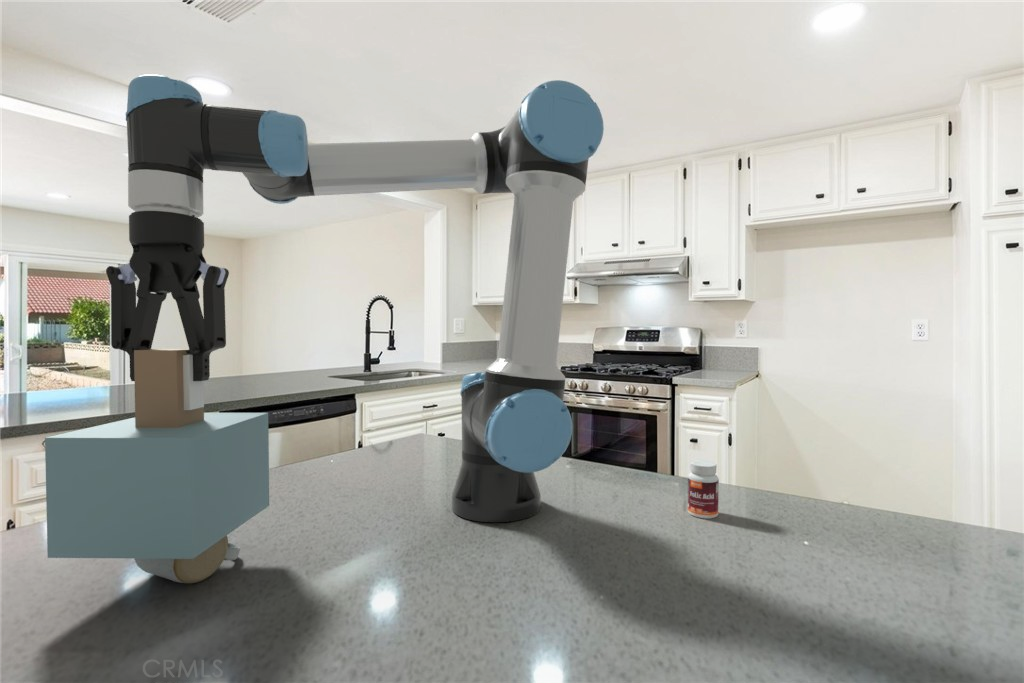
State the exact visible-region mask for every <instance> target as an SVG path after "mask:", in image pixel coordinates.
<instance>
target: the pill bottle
mask: <svg viewBox="0 0 1024 683" xmlns="http://www.w3.org/2000/svg"><path fill="white" fill-rule="evenodd" d="M689 469H690V473H688V476H687V513H688V514H689V515H691V516H692V517H695V518H698V519H699V518H700V519H705V520H706V519H707V520H708V519H709V520H710V519H715V518H716V517H718V516H719V490H720V489H719V488H720V487H719V482H720V479H719V477H718V475H717V464H716V463H715V462H714V461H709V460H701V459H700V460H699V459H695V460H691V461H690V466H689Z"/></svg>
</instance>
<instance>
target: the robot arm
mask: <svg viewBox="0 0 1024 683" xmlns="http://www.w3.org/2000/svg"><path fill="white" fill-rule="evenodd" d="M127 88H128V90H127V105H126V112H125V121H126V136H127V158H128V161H127V162H128V167H127V172H128V173H127V187H128V188H127V194H128V195H127V196H128V198H127V205H128V207H129V208H130V209H131V210H133V212H131V213H130V214H129V215H128V236H129V237H128V241H129V243H130V245H131V247H132V255H131V256H130V258H129V262H128V263H126V264H123V265H120V266H112V265H109V266H107V268H106V269H105V274H106V276H107V278H108V281H109V285H110V325H111V326H110V334H111V336H110V340H111V341H110V342H111V343H110V344H111V348H113V349H114V350H121V351H124V352H125V353H126V354H128V356H129V357H128V358H129V378H130V380H131V382H135V379H134V350H149V349H152V345H153V342H154V337H155V334H156V330H157V327H158V326H157V325H158V321H159V317H160V313H161V312H160V311H161V309H162V305H163V302H164V301H165V300H166V299H167V296H168V294H171V297H172V298H173V300H175V302H176V305H177V311H178V313H179V317H180V320H181V324H182V327H183V331H184V335H185V339H186V343H187V347H188V349H189V350H188V351H186V353H187V354H189V355H183V388H184V410H193V409H197V408H201V407H204V408H205V390H204V389H205V387H204V381H205V382H206V381H209V379H210V362H211V361H210V356H211V353H213V352H214V351H218V350H219V349H224V348H225V347H226V346H227V332H226V330H227V326H226V299H225V298H226V297H225V293H226V292H225V291H226V289H225V287H226V284H227V282H228V278H229V275H230V271H229V270H228V269H227V268H225V267H220V266H217V265H211V264H208V263H207V260H206V259H205V257H204V254H203V250H204V248H205V222H204V221H203V220H202V219H201V218H200V217H202V216H203V215H204V170H211V171H217V172H218V171H222V172H232V173H234V172H235V173H242V175H243V176H244V177H245V178H246V179H247V181H248V183H249V185H250V187H251V188H252V190H254V192H256V194H258V195H259V196H260V197H262V198H263V199H264V200H266V201H268V202H271V203H274V204H277V205H278V204H279V205H280V204H281V205H284V204H289V203H292V202H293V201H296V200H297V199H298V198H300V197H301V198H303V197H316V196H318V197H319V196H335V195H337V196H339V195H353V194H355V195H356V194H357V195H358V194H374V193H375V194H376V193H377V194H378V193H397V192H415V191H416V192H417V191H419V192H420V191H435V190H439V191H440V190H452V189H453V190H457V189H473V190H474V191H475V192H477V193H478V194H480V195H481V194H482V195H483V194H487V195H488V194H506V193H507V194H511V193H512V194H513V196H514V197H513V198H514V199H513V206H512V215H511V216H512V218H511V225H510V236H509V237H510V238H509V245H508V246H509V247H508V254H507V266H506V273H505V283H504V292H503V293H504V294H503V303H502V312H501V322H500V332H499V338H498V339H499V341H498V348H497V350H498V351H497V357H496V359H495V361H493V362H492V363H491V364H490V365H488V366H487V367H486V368H485V371H484V372H472V373H468V374H465V375H464V377H463V378H462V380H461V389H460V396H461V463H460V464H461V465H460V468H459V470H458V475H457V478H456V480H455V484H454V488H453V491H452V495H451V510H452V512H453V513H454V514H455V515H457V516H459V517H460V518H462V519H466V520H470V521H475V522H483V523H507V522H515V521H519V520H523V519H527V518H529V517H532V516H534V515H536V514H537V513H538V512H539V511H540V510H541V507H542V506H541V504H542V502H541V499H542V496H541V491H540V488H539V485H538V482H537V479H536V478H537V477H536V476H535V473H536V472H539V471H542V470H545V469H547V468H549V467H551V466H552V465H553V464H554V463H555V462H557V461H559V459H561V457H562V456H563V455H564V454H565V452H566V451H567V448H568V447H569V445H570V442H571V438H572V434H573V420H572V416H571V413H570V410H569V408H568V405H566V404H565V402H564V397H565V396H564V395H565V386H566V376H565V375H564V374H563V372H562V371H561V369H560V368H559V367H558V364H557V361H558V360H557V359H558V352H559V342H560V340H559V339H560V333H561V332H560V331H561V323H562V322H561V321H562V313H563V304H564V294H565V293H564V292H565V283H566V276H567V275H566V274H567V273H566V272H567V267H568V266H567V264H568V256H569V247H570V245H569V244H570V236H571V228H572V227H571V226H572V217H573V207H574V206H573V205H574V201H575V200H576V199H577V198H579V196H581V195H583V193H585V191H586V186H587V185H586V183H587V177H588V176H587V175H588V168H589V159H590V158H591V157H592V156H594V154H596V152H597V150H598V148H599V146H600V145H601V142H602V139H603V136H604V130H605V129H604V126H605V125H604V120H603V116H602V113H601V109H600V107H599V106H598V103H597V102H596V101H594V100H593V98H592V97H591V95H590V93H588V91H586V90H585V89H584V88H582V87H581V86H580V85H578V84H576V83H573V82H570V81H567V80H560V79H559V80H556V79H555V80H554V79H553V80H550V81H549V80H548V81H545V82H542V83H541V84H539V85H538V86H536V87H535V88H533V90H532V91H531V92H529V93H528V94H526V96H525V97H524V98H523V99H522V100H521V102H520V106H519V108H518V109H517V110H516V111H515V113H514V115H513V116H512V117H511V118H510V120H509V121H508V122H507V124H506V125H505V126H503V127H501V128H498V129H497V130H493V131H488V132H486V131H485V132H475V133H474V134H473V135H472V136H471V137H470V138H469V139H446V140H445V139H444V140H442V139H441V140H440V139H439V140H436V139H435V140H406V141H405V140H402V141H401V140H400V141H398V140H397V141H372V142H370V141H366V142H365V141H364V142H362V141H361V142H359V141H358V142H330V143H329V142H328V143H327V142H326V143H308V141H309V140H308V132H307V126H306V122H305V121H304V119H303V118H302V117H301V116H299V115H297V114H296V115H295V114H291V113H286V112H285V113H284V112H280V111H277V110H272V109H269V110H263V109H262V110H261V109H260V110H259V109H253V108H242V107H241V108H239V107H232V106H231V107H229V106H220V105H213V104H212V105H210V104H207V103H204V102H203V98H202V95H201V93H200V91H199V90H198V89H197V88H196V87H195V86H193V85H191V84H189V83H188V82H186V81H183V80H180V79H174V78H171V77H168V76H167V75H166V76H165V75H159V74H143V75H139V76H136V77H134V78H133V79H132V80H131V81H130V82H129V84H128V87H127ZM200 278H201V279H202V280H203V283H202V305H203V312H202V308H201V305H200V301H199V299H200V297H201V296H200V291H199V288H198V284H197V282H198V280H199V279H200ZM138 280H139V281H138ZM137 281H138V285H137V287H136V282H137Z"/></svg>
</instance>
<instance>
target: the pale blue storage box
mask: <svg viewBox="0 0 1024 683" xmlns="http://www.w3.org/2000/svg"><path fill="white" fill-rule="evenodd" d="M188 350H189V348H155V349H153V348H151V349H149V350H134V379H135V381H134V415H135V416H134V417H131V418H126V419H122V420H116V421H113V422H109V423H104V424H100V425H95V426H91V427H87V428H81V429H78V430H74V431H69V432H66V433H65V432H64V433H60V434H57V435H52V436H46V437H44V449H45V450H44V451H45V455H44V456H45V457H44V459H45V460H44V461H45V496H46V499H45V502H46V503H45V505H46V541H47V542H46V543H47V544H46V545H47V549H46V550H47V551H46V552H47V559H134V558H135V559H193V558H195V557H196V556H198V555H199V554H201V553H202V552H203V551H205V550H206V549H208V548H209V547H211V546H212V545H214V544H215V543H216V542H218V541H219V540H221V539H222V538H224V537H225V536H226V535H227V536H228V535H230V534H231V533H233V531H235V530H237V529H238V528H239V527H241V526H242V525H244V524H245V523H246V522H248V521H250V520H252V518H254V517H256V516H257V515H258V514H259V513H261V512H262V511H264V510H265V509H267V508H268V507H269V506H270V455H269V454H270V451H269V450H270V449H269V447H270V446H269V445H270V444H269V443H270V442H269V439H270V438H269V432H270V431H269V412H205V406H204V407H201V408H197V409H193V410H184V388H183V355H189V354H187V353H186V351H188ZM135 559H134V560H135Z"/></svg>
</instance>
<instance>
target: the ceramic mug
mask: <svg viewBox="0 0 1024 683" xmlns="http://www.w3.org/2000/svg"><path fill="white" fill-rule="evenodd" d="M240 551H241V547H240V546H239V545H236V544H233V543H230V542H229V538H228V535H226V536H225V537H224V538H222V539H221V540H219V541H218V542H216V543H215V544H214V545H212V546H211V547H209V548H208V549H206V550H205V551H203V552H202V553H201V554H199V555H198V556H196V557H195V558H193V559H135V558H133V559H134V561H135V564H136V566H137V567H138V568H140V570H142V571H144V572H145V573H148V574H151V575H155V576H157V577H159V578H163V579H166V580H170V581H173V582H177V583H180V584H196V583H199V582H202V581H204V580H206V579H207V578H209V577H211V576H212V575H213V574H214V573H215V572H216V571H217V570H218V569H219V568H220V566H222V564H223V563H224V561H236V560H237V559H238V557H239V554H240Z"/></svg>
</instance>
